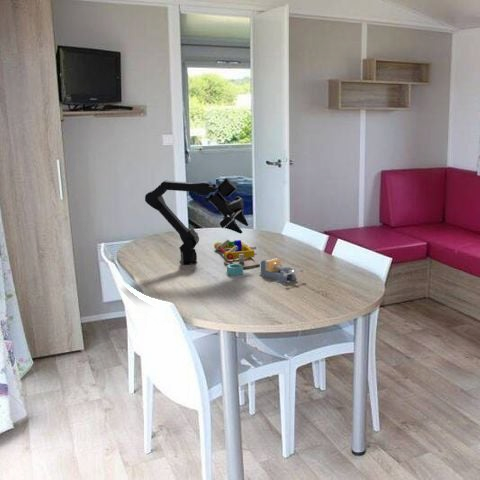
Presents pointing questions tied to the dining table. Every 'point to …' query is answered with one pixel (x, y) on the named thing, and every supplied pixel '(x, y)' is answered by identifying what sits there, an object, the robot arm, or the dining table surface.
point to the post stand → (243, 262)
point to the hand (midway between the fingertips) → (244, 229)
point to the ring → (234, 269)
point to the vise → (277, 270)
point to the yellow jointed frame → (235, 249)
